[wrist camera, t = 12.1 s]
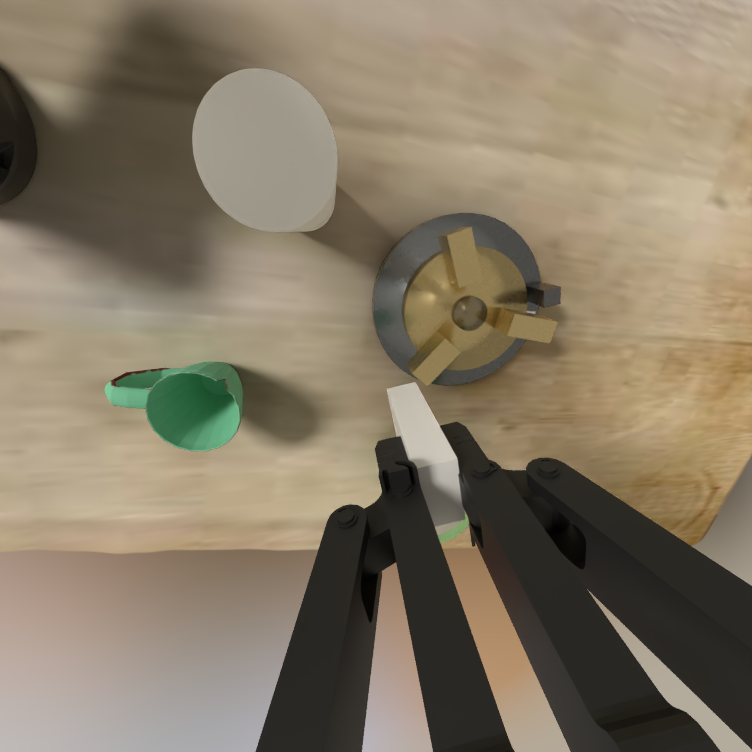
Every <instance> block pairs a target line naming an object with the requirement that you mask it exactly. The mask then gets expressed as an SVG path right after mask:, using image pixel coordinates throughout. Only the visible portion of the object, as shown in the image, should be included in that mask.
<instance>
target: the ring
mask: <svg viewBox="0 0 752 752" xmlns="http://www.w3.org/2000/svg"><path fill="white" fill-rule="evenodd" d="M460 227H472V232H473V237H474V242H475V246H482V247H487V248H491V249H494V250H496V251H498V252H500V253H502V254H504V255H505V256H506V257H508V258H509V259H510V260H511V261H512V262H513V263H514V264H515V265H516V267H517V268H518V269H519V271H520V273H521V275H522V277H523V279H524V282H525V285H526V290H527V299H528V300H527V311H526V312H527V313H532V314H537V313H538V309H539V306H541V307H549V306H553V305H557V304H560V287H559V286H555V285H551V284H547V283H542V282H540V276H539V271H538V267H537V264H536V261H535V258H534V256H533V254H532V252H531V250H530V248H529V247H528V245H527V244H526V243H525V241H524V240H523V239H522V237H521V236H520V235H519V234H518V233H517V232H516V231H515V230H513V229H512V228H510V227H509V226H508V225H506V224H505V223H503V222H501V221H499V220H497V219H495V218H492V217H489V216H485V215H480V214H474V213H459V214H452V215H445V216H441V217H437V218H434V219H431V220H429V221H427V222H425V223H422V224H421V225H419V226H417V227H416V228H414V229H412V230H411V231H410V232H409V233H407V234H406V235H405V236H404V237H402V238H401V239H400V241H399V242H398V243H397V244H396V245H395V246H394V247H393V248H392V250H391V251H390V252H389V254H388V255H387V257H386V258H385V260H384V262H383V264H382V266H381V268H380V270H379V273H378V275H377V278H376V282H375V285H374V290H373V298H372V313H373V321H374V325H375V328H376V332H377V334H378V337H379V339H380V341H381V344H382V346H383V348H384V349H385V351H386V353H387V354H388V355H389V357H390V358H391V359H392V360H393V362H394V363H395V364H396V365H397V366H399V367H400V368H401V369H402V370H403V371H405V372H406V373H408V374H409V375H411V376H413V377H415V376H414V375H413V374H412V373H411V371H410V369H409V367H408V366H407V364H406V363H407V362H408V361H409V360H410V359H411V358H412V357H413V356H414V355H415V353H416V352H417V351H418V350H417V349H416V348H415V346H414V345H413V343H412V342H411V341H410V339H409V337H408V335H407V333H406V331H405V328H404V325H403V321H402V300H403V295H404V292H405V288H406V286H407V284H408V282H409V280H410V278H411V276H412V275H413V273H414V272H415V271H416V269H417V268H418V267H419V266H420V265H421V264H422V263H423V262H424V261H425V260H426V259H427V258H429V257H430V256H432V255H433V254H435V253H437V252H438V251H441V247H440V243H439V239H438V235H440V234H443V233H446V232H449V231H451V230H454V229H457V228H460ZM525 341H526V339H522V338H516V339H515V340H514V342H513V343H512V344H511V346H510V347H509V348H508V349H507V350H506V351H505V352H504V353H503V354H501V355H500V356H499V357H498V358H496V359H495V360H493V361H491V362H490V363H488V364H486V365H483V366H481V367H478V368H474V369H469V370H449V369H444V370H443V371H442V372H441V373H440V374H439V375H438V376H437V377H436V378H435V380H434V381H433V382H432V384H437V385H459V384H464V383H469V382H472V381H476V380H478V379H481V378H483V377H485V376H487V375H489V374H491V373H493V372H494V371H496V370H497V369H499V368H500V367H502V366H503V365H504V364H505V363H507V362H508V361H509V360H510V359H511V358H512V357H513V356H514V355H515V354H516V353H517V351H518V350H519V349H520V348H521V346H522V345H523V344H524V342H525ZM415 378H417V377H415ZM417 379H418V378H417Z"/></svg>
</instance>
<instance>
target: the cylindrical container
mask: <svg viewBox="0 0 752 752" xmlns="http://www.w3.org/2000/svg"><path fill="white" fill-rule="evenodd" d="M192 144H193V155H194V159H195V163H196V167H197V171H198V173H199V175H200V178H201V180H202V182H203V184H204V186H205V188H206V190H207V191H208V193H209V194H210V196H211V197H212V198H213V200H214V201H215V202H216V203H217V204H218V205H219V206H220V207H221V209H222V210H223V211H224V212H225V213H227V214H228V215H229V216H231V217H232V218H234V219H235V220H236V221H238V222H240V223H242V224H244V225H246V226H248V227H250V228H254V229H257V230H260V231H268V232H308V231H314V230H317V229H319V228H321V227H322V226H324V225H325V224H326V223H327V222H328V220H329V219H330V217H331V216H332V213H333V211H334V206H335V195H336V181H337V164H338V155H337V147H336V140H335V137H334V134H333V131H332V127H331V124H330V122H329V120H328V118H327V116H326V114H325V113H324V111H323V109H322V107H321V106H320V105H319V103H318V102H317V101H316V99H315V98H314V97H313V96H312V94H310V93H309V92H308V91H307V90H306V89H305V88H304V87H303V86H302V85H301V84H299V83H298V82H296V81H295V80H293V79H291V78H290V77H288V76H286V75H284V74H281V73H279V72H276V71H273V70H267V69H261V68H252V69H242V70H239V71H236V72H234V73H231V74H228V75H226V76H225V77H223V78H222V79H221V80H219V81H218V82H216V83H215V84H214V85H213V86H212V87H211V89H210V90H209V91H208V92H207V93H206V94H205V96H204V98H203V99H202V101H201V103H200V105H199V107H198V109H197V113H196V116H195V120H194V123H193V134H192Z"/></svg>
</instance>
